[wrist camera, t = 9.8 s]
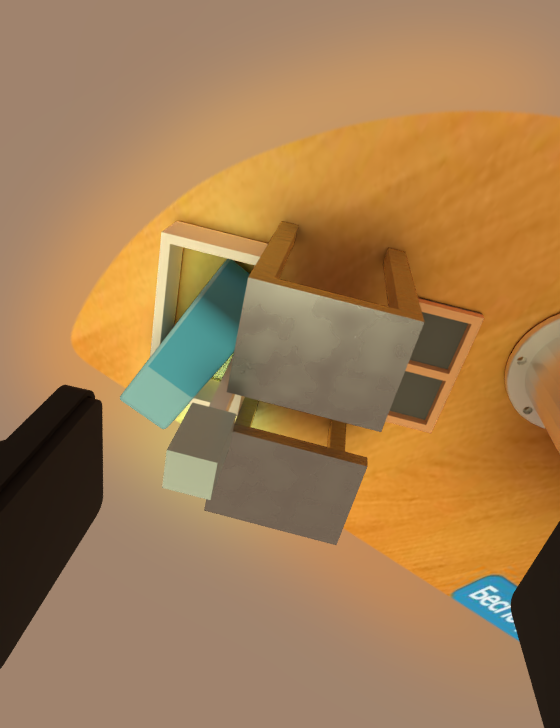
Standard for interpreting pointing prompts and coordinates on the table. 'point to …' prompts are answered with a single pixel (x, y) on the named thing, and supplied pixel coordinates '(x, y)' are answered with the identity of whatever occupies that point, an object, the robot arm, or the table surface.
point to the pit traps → (434, 364)
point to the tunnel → (311, 391)
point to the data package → (191, 349)
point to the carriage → (212, 403)
